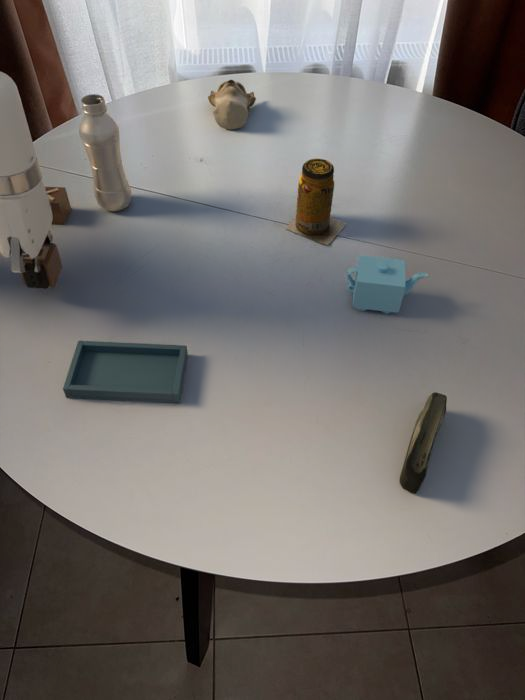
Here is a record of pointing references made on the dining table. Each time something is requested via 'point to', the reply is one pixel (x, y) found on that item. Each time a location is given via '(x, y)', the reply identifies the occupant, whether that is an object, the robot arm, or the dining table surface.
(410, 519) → the dining table surface
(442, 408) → the dark grey rounded bar
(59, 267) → the tile
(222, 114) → the ceramic sculpture
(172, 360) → the tray
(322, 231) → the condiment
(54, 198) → the tile
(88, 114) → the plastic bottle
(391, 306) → the teapot
